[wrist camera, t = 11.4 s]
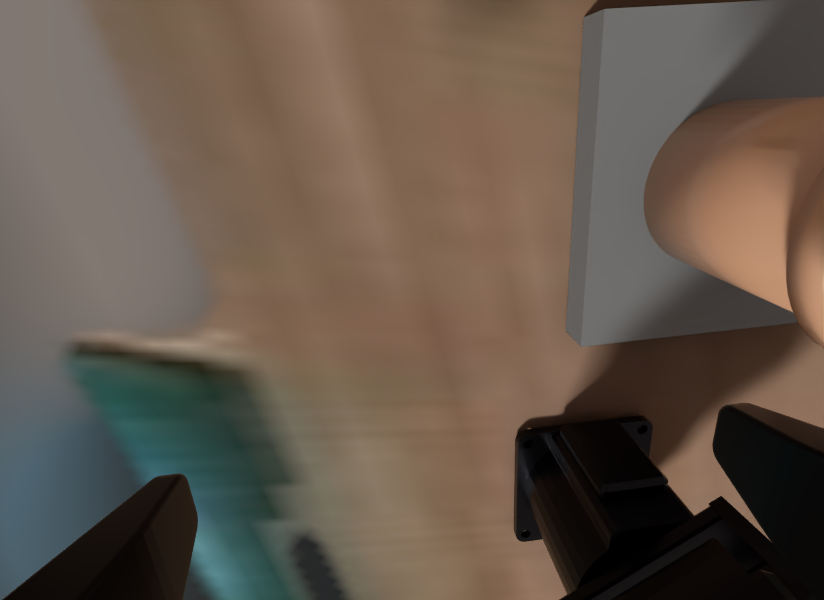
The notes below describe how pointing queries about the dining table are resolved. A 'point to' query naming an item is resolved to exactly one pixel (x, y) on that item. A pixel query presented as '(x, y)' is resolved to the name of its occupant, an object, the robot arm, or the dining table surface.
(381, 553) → the dining table surface
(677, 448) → the dining table surface
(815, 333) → the terracotta pot
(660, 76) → the rubber mat
